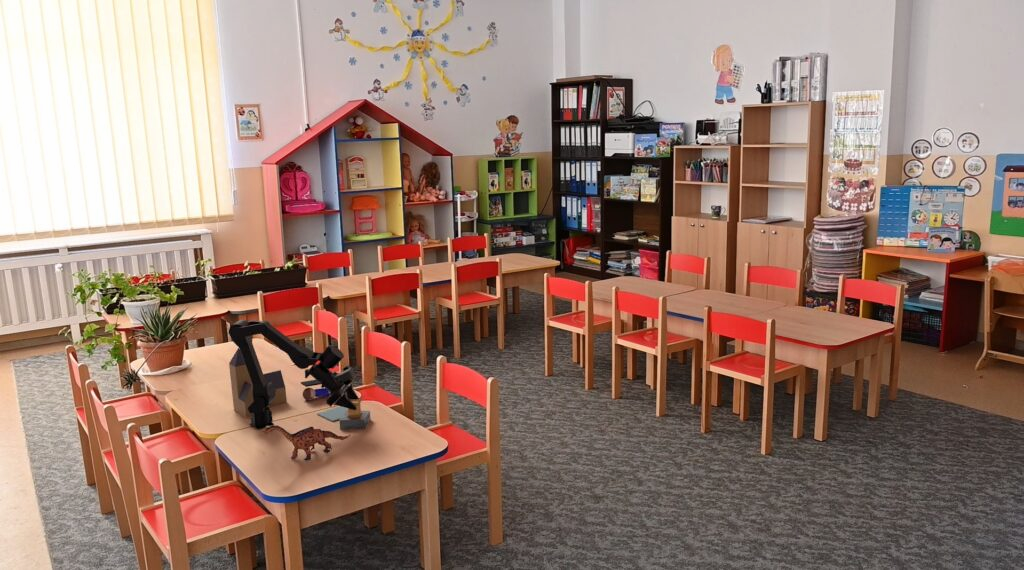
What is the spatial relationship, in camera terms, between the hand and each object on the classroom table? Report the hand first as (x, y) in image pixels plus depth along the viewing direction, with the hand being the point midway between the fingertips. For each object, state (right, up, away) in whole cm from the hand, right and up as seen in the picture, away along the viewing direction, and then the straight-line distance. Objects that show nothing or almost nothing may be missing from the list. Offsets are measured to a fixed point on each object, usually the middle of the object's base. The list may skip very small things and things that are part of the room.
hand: (357, 405), depth 286 cm
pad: (-10, -5, +12) cm, 17 cm away
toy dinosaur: (-11, -13, -25) cm, 31 cm away
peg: (-1, -7, +1) cm, 7 cm away
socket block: (-1, -7, +1) cm, 7 cm away
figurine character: (-21, -1, +32) cm, 38 cm away
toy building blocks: (-41, -4, +21) cm, 46 cm away
